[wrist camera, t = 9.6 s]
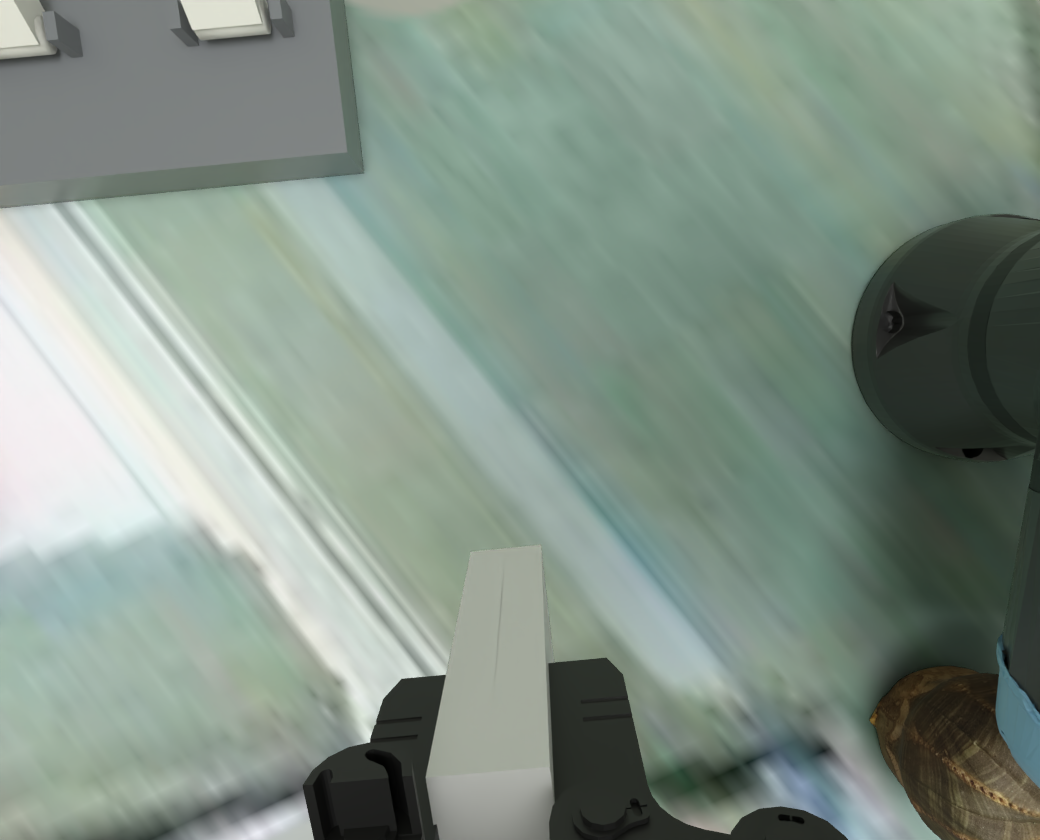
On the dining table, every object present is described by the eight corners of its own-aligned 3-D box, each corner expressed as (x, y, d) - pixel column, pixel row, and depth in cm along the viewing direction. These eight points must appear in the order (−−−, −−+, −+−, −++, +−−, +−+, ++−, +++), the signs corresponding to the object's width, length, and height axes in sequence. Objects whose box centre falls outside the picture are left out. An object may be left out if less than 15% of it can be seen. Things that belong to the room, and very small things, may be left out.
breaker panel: (364, 173, 43) (338, 140, 36) (-173, 224, 43) (-297, 201, 36) (335, -68, 41) (303, -146, 35) (-219, -16, 41) (-356, -86, 35)
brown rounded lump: (1031, 646, 47) (1212, 748, 35) (994, 798, 48) (1157, 948, 36) (875, 622, 46) (1003, 716, 34) (841, 776, 47) (954, 919, 35)
